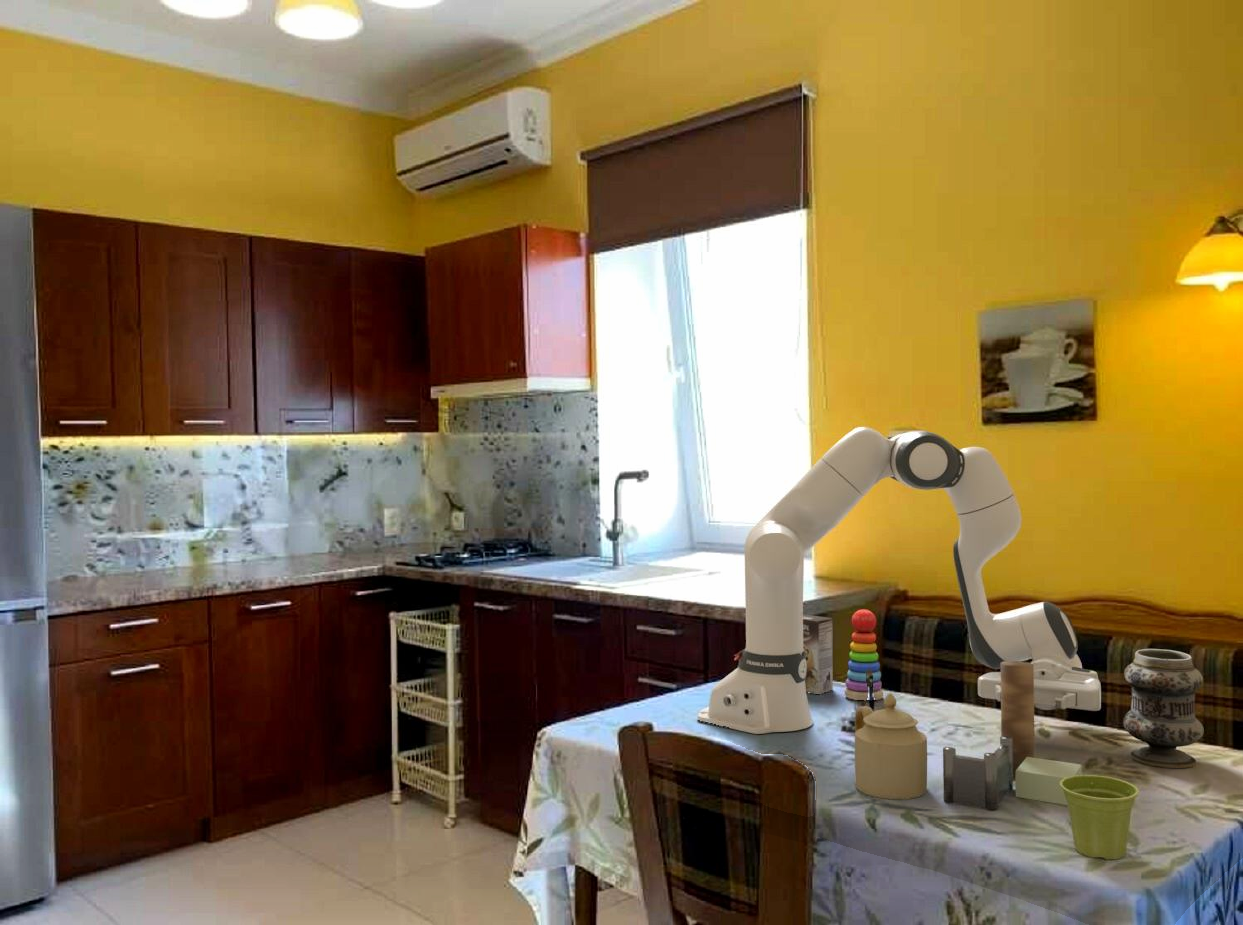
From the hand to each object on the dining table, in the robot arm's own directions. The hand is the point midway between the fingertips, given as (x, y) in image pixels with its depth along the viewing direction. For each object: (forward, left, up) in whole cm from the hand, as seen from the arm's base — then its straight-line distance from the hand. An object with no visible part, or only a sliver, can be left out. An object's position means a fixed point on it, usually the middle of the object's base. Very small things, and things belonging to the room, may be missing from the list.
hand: (1030, 700), depth 175 cm
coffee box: (-52, +27, -10) cm, 59 cm away
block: (+6, -17, -10) cm, 21 cm away
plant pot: (+16, -37, -10) cm, 41 cm away
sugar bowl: (-17, -26, -10) cm, 33 cm away
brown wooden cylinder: (0, -10, -10) cm, 14 cm away
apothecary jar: (+19, +10, -10) cm, 24 cm away
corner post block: (-3, -23, -10) cm, 25 cm away
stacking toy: (-39, +26, -10) cm, 48 cm away
